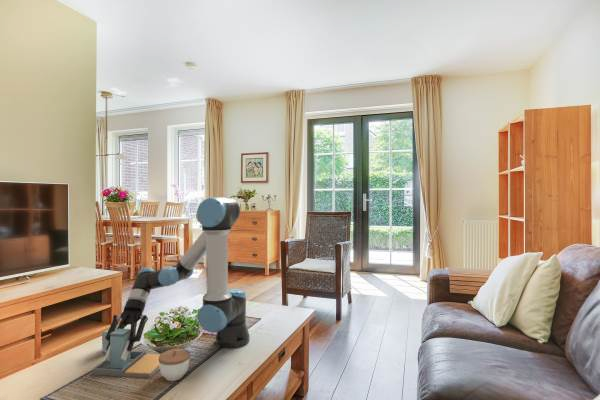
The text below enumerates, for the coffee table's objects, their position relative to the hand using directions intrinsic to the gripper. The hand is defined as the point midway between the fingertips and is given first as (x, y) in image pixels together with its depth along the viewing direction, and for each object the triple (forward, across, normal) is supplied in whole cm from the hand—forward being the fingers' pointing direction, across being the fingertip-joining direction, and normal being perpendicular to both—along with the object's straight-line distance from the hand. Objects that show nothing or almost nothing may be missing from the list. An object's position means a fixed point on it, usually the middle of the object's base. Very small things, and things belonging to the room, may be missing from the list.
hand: (115, 359), depth 127 cm
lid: (+1, -11, -5) cm, 12 cm away
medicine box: (-10, +10, -15) cm, 21 cm away
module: (0, 0, -5) cm, 5 cm away
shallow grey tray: (0, 0, -5) cm, 5 cm away
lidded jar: (+6, -24, 0) cm, 25 cm away
